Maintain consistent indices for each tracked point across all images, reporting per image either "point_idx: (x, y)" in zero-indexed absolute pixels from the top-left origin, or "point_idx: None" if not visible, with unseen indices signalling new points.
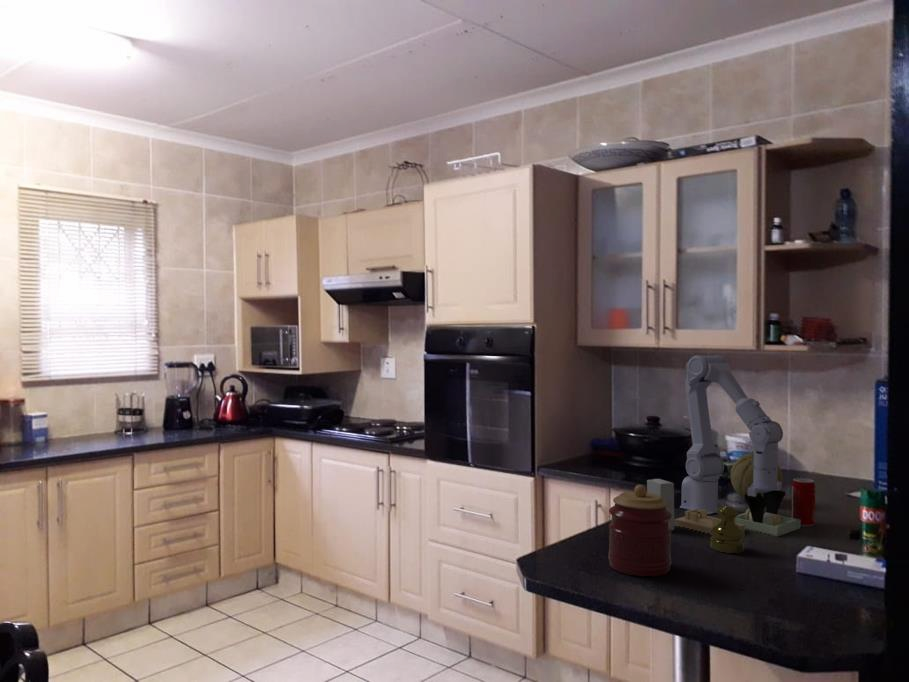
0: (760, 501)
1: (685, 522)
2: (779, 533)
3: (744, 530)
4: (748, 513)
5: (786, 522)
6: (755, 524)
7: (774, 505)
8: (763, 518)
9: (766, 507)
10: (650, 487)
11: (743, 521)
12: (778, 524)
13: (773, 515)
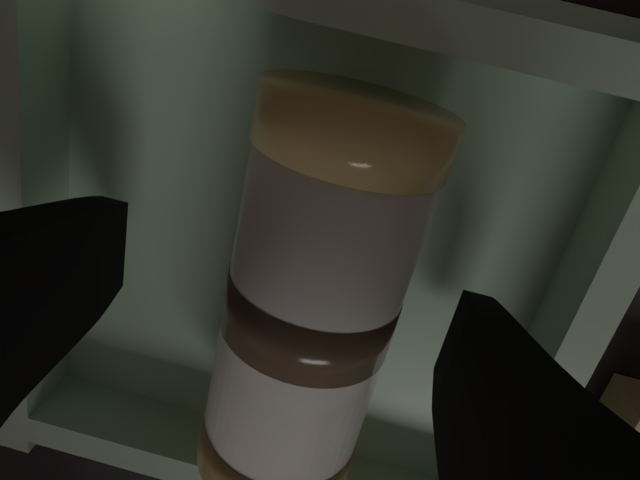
0: None
1: None
2: (629, 26)
3: (638, 383)
4: (339, 475)
5: (311, 4)
6: (600, 336)
7: (11, 289)
8: (402, 305)
9: (51, 363)
10: None
11: None
12: (400, 100)
13: (382, 208)
